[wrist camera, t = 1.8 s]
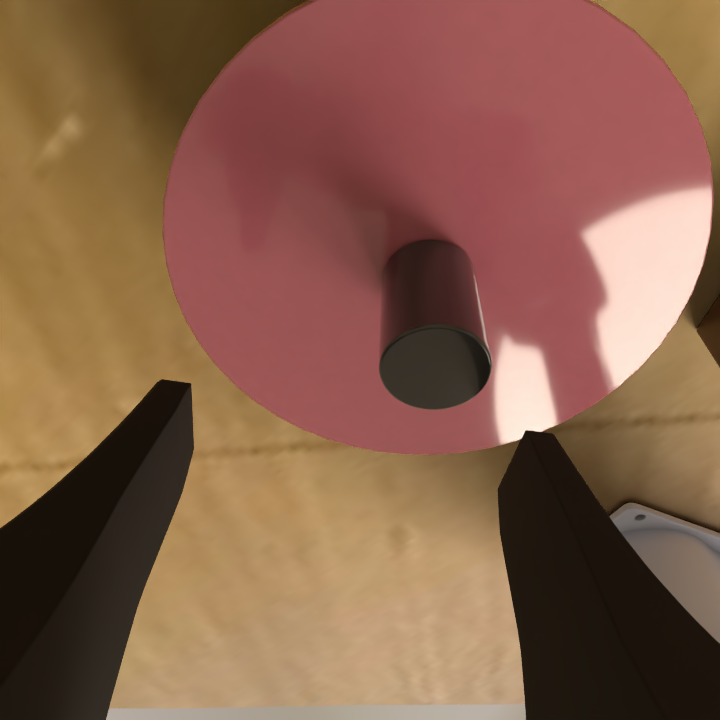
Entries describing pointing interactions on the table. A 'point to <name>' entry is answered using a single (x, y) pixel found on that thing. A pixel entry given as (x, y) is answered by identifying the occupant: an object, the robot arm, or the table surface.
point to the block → (712, 330)
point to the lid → (437, 217)
